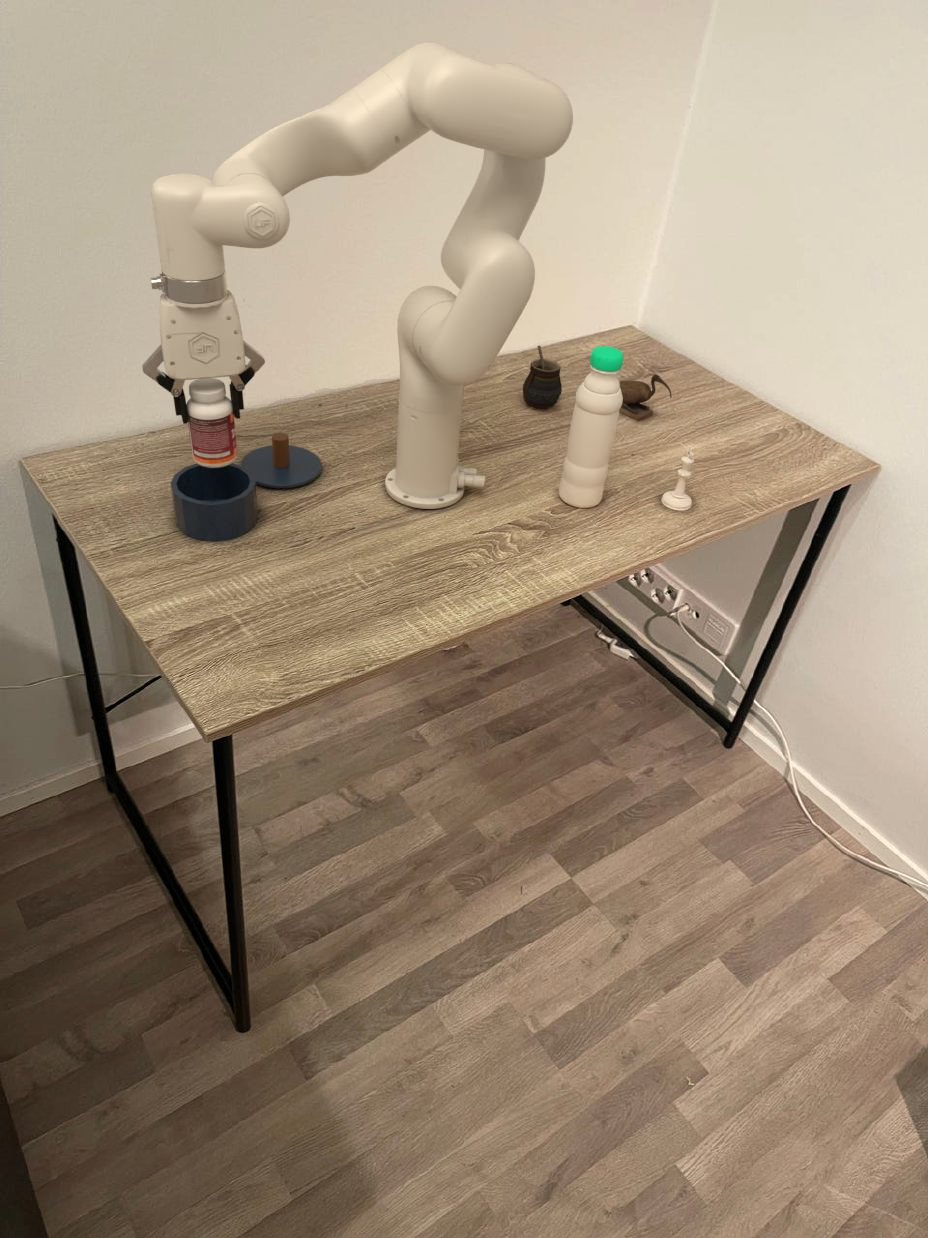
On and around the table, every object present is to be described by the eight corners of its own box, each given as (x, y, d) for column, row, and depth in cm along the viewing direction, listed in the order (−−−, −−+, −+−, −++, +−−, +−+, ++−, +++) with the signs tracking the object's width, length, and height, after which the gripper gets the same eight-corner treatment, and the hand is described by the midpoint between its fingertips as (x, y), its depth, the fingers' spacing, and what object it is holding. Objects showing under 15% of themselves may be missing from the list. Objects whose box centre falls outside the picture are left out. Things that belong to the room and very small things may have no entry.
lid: (326, 453, 154) (325, 420, 150) (315, 494, 144) (315, 460, 141) (249, 447, 154) (247, 413, 150) (233, 487, 144) (231, 453, 140)
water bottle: (605, 492, 152) (636, 346, 136) (596, 514, 147) (627, 365, 131) (563, 482, 154) (590, 336, 138) (553, 503, 148) (579, 354, 133)
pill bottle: (245, 463, 130) (238, 390, 123) (202, 473, 128) (193, 400, 121) (227, 443, 134) (220, 371, 127) (186, 453, 131) (175, 380, 124)
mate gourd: (534, 416, 171) (541, 365, 165) (512, 398, 176) (518, 348, 169) (566, 410, 174) (574, 359, 168) (543, 392, 179) (551, 342, 173)
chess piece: (673, 513, 149) (688, 458, 143) (655, 497, 153) (669, 443, 146) (697, 507, 151) (713, 453, 145) (678, 492, 155) (693, 438, 148)
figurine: (671, 423, 174) (682, 379, 168) (657, 430, 171) (667, 386, 165) (612, 395, 181) (620, 352, 175) (597, 401, 178) (606, 358, 173)
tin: (263, 500, 142) (261, 464, 138) (249, 544, 133) (246, 507, 129) (186, 494, 141) (182, 458, 137) (167, 538, 132) (161, 500, 128)
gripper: (124, 301, 110) (146, 436, 122) (271, 292, 115) (279, 423, 127) (119, 277, 115) (142, 409, 127) (260, 270, 120) (269, 398, 132)
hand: (210, 415), depth 127 cm, fingers closed on pill bottle, 6 cm apart
